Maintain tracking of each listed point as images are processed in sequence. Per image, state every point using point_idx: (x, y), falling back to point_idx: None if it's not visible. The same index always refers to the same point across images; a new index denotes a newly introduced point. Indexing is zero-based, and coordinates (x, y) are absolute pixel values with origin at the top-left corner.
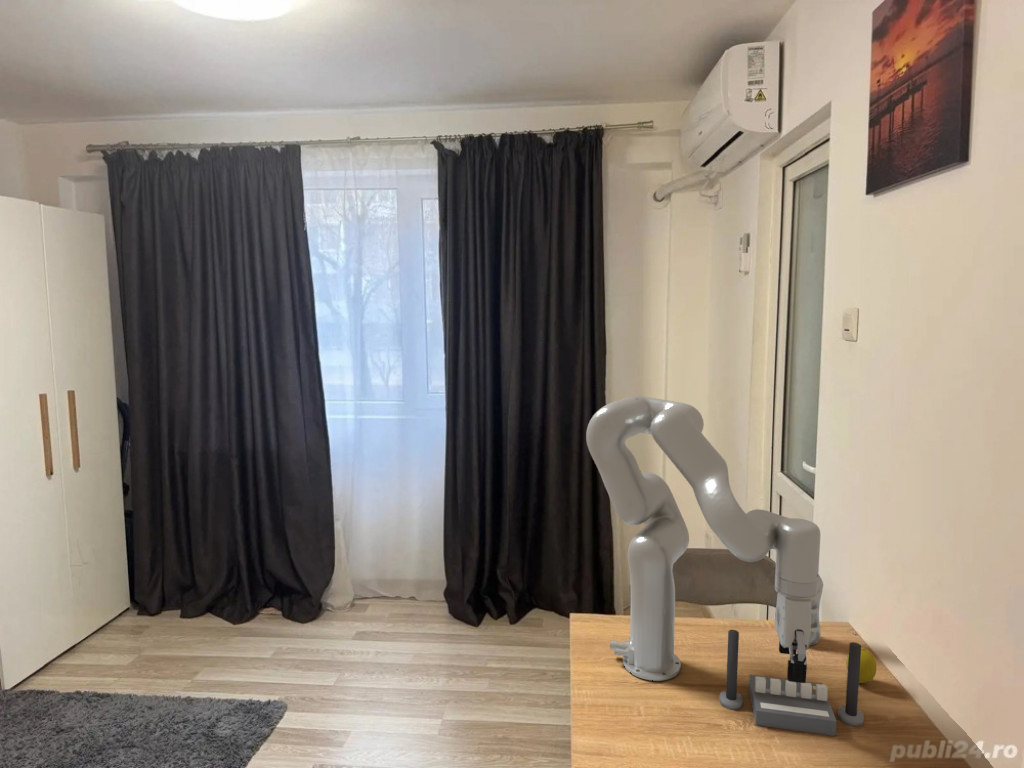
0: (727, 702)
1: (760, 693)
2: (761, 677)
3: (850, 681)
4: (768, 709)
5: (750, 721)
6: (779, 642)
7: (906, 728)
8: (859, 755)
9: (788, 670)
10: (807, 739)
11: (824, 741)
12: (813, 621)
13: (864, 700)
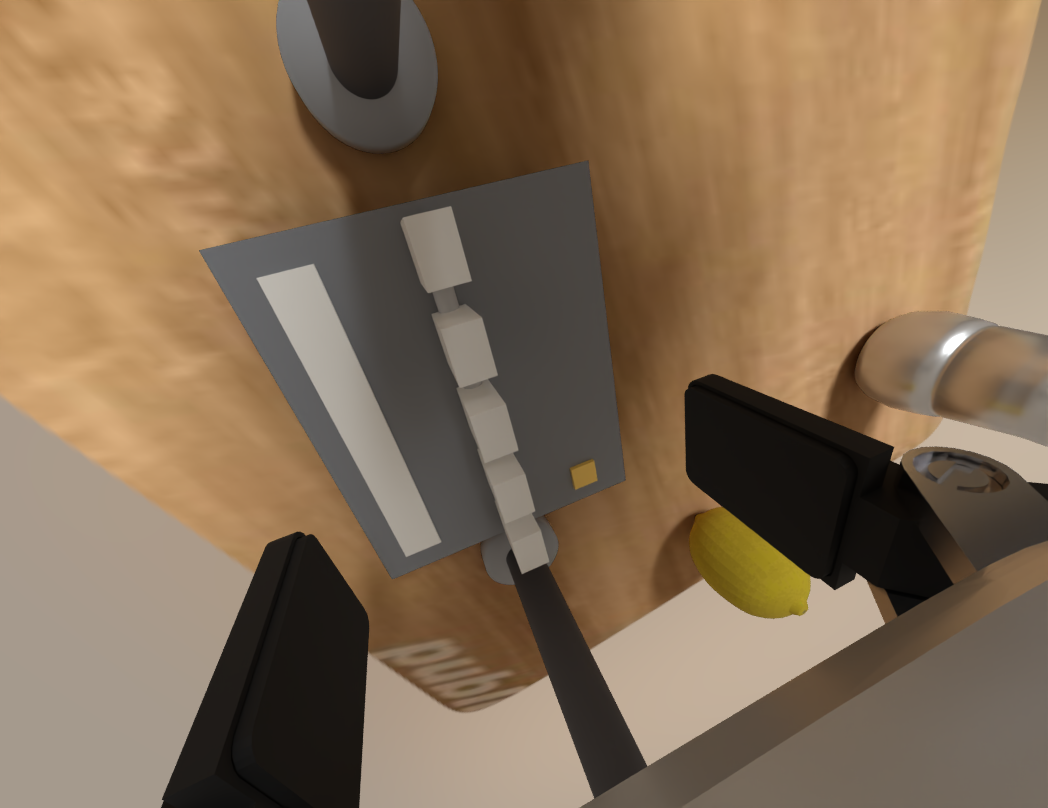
0: (279, 27)
1: None
2: (460, 255)
3: (557, 680)
4: (273, 322)
5: (253, 215)
6: (774, 405)
7: None
8: None
9: (231, 638)
10: (301, 468)
11: (333, 515)
12: (969, 413)
13: (621, 543)
